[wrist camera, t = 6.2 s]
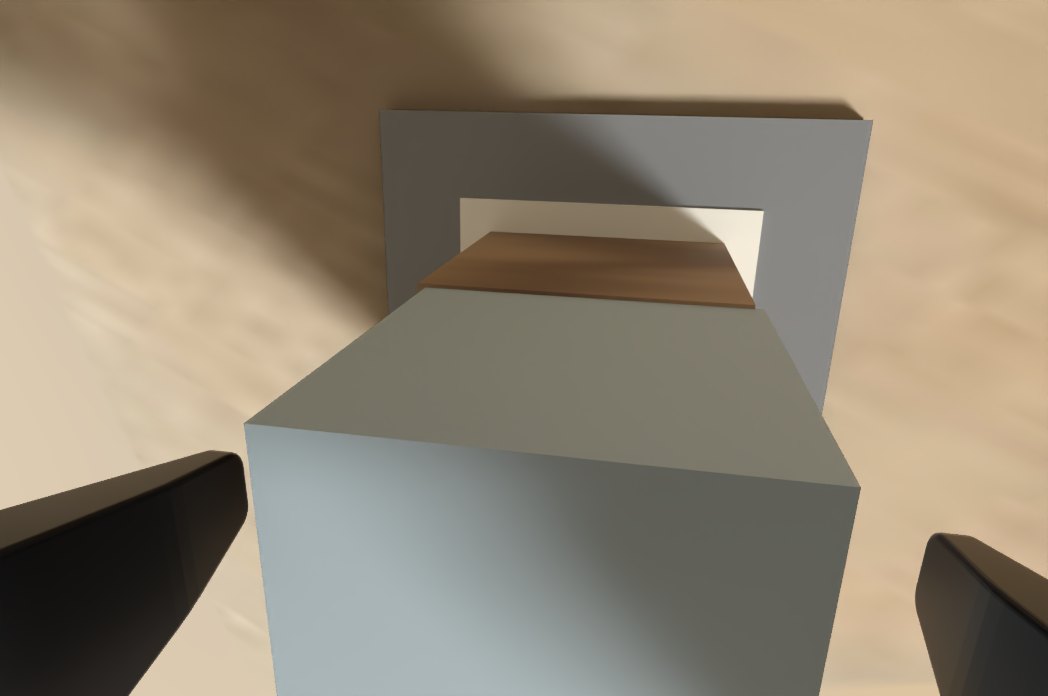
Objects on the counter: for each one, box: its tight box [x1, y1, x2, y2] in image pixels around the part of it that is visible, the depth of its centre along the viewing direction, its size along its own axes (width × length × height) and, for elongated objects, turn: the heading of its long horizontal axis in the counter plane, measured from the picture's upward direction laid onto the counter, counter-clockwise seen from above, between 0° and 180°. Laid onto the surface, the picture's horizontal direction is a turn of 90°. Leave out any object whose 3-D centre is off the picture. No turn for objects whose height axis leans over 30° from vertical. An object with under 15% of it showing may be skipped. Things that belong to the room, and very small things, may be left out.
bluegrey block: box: [244, 287, 861, 696], centre depth 9 cm, size 5×5×5 cm
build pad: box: [379, 110, 873, 415], centre depth 16 cm, size 10×10×1 cm
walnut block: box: [417, 231, 756, 309], centre depth 13 cm, size 5×5×5 cm
